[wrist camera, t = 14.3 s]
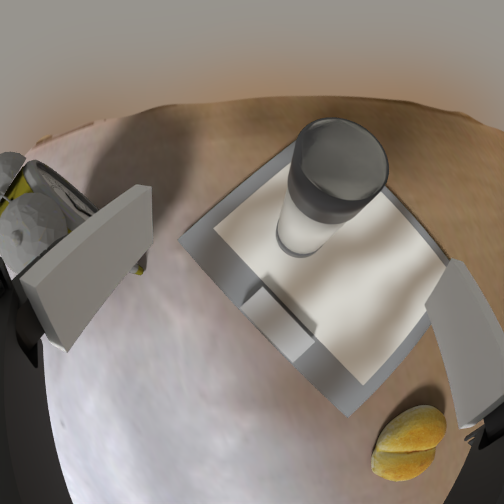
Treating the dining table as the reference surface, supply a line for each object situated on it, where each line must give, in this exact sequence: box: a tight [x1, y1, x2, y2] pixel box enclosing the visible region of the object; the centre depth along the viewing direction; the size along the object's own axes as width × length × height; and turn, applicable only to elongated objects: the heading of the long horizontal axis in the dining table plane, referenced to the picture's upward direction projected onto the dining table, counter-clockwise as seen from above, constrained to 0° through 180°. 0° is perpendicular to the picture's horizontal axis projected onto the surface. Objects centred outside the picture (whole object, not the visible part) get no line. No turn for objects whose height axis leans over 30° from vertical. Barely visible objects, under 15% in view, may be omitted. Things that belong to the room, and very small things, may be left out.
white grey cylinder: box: [276, 117, 389, 258], centre depth 17 cm, size 4×4×13 cm
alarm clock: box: [0, 152, 144, 275], centre depth 17 cm, size 12×7×15 cm, turn 51°
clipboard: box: [178, 141, 450, 418], centre depth 23 cm, size 22×18×2 cm
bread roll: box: [371, 405, 446, 482], centre depth 18 cm, size 8×9×4 cm
